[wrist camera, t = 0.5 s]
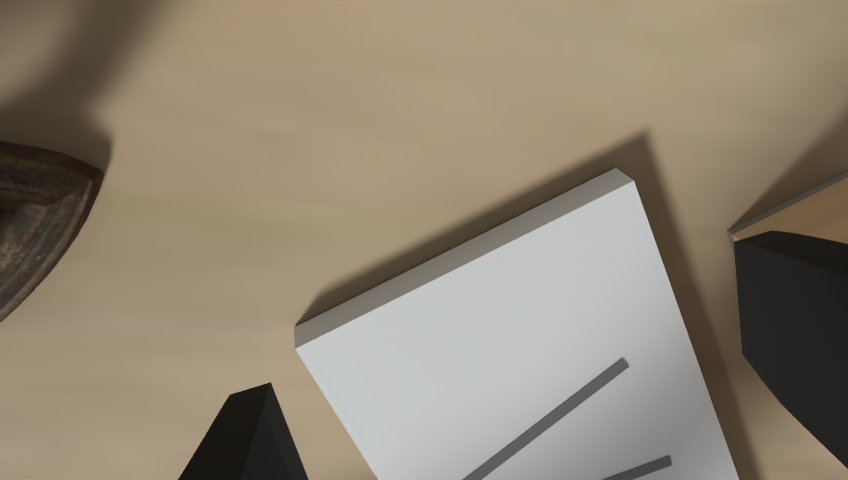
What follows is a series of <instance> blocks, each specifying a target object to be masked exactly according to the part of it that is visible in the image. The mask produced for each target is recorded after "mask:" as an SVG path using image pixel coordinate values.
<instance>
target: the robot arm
mask: <svg viewBox="0 0 848 480" xmlns="http://www.w3.org/2000/svg"><path fill="white" fill-rule="evenodd" d="M734 251H735V264H736V277H737V290H738V303H739V315H740V328H741V341H742V354H743V355H744V357H745V358H746V359H747V361H748V362H749V363H750V365H751V366H752V367H753V369H754V370H755V371H756V373H757V374H758V375H759V377H760V378H761V379H762V381H763V382H764V383H765V384H766V386H767V387H768V388H769V389H770V391H771V392H772V393H773V394H774V396H775V397H776V398H777V399H778V400H779V402H780V403H781V404H782V405H783V406H784V407H785V408H786V409H787V410H788V411H789V412H790V413H791V414H792V415H793V416H794V417H795V418H796V419H797V420H798V421H799V422H800V423H801V424H802V425H803V426H804V427H805V428H806V429H807V430H808V431H809V432H810V433H811V434H812V435H813V436H814V437H815V438H816V439H817V440H818V441H819V442H820V443H821V444H823V445H824V446H825V447H826V448H827V449H828V450H829V451H830V452H831V453H832V454H833V455H834V456H835V457H836V458H837V459H838V460H839V461H840V462H841V463H842V464H843V465H844V466H846V467H847V468H848V244H846V243H842V242H837V241H832V240H828V239H823V238H818V237H813V236H808V235H802V234H797V233H790V232H783V231H774V230H771V231H767V232H764V233H761V234H757V235H754V236H751V237H748V238H744V239H741V240H738V241H734ZM178 480H308V477H307V475H306V472H305V469H304V467H303V464H302V462H301V459H300V457H299V454H298V451H297V449H296V446H295V444H294V441H293V439H292V436H291V433H290V431H289V428H288V426H287V423H286V421H285V418H284V415H283V413H282V410H281V408H280V405H279V402H278V400H277V397H276V395H275V392H274V390H273V387H272V384H271V382H270V383H267V384H264V385H260V386H257V387H254V388H251V389H247V390H244V391H241V392H237V393H234V394H231V395H229V397H228V399H227V400H226V402H225V403H224V405H223V407H222V408H221V410H220V412H219V413H218V415H217V417H216V418H215V420H214V422H213V423H212V425H211V427H210V428H209V430H208V432H207V433H206V435H205V437H204V438H203V440H202V442H201V443H200V445H199V447H198V448H197V450H196V452H195V453H194V455H193V457H192V458H191V460H190V461H189V463H188V465H187V466H186V468H185V469H184V471H183V473H182V474H181V476H180V477H179V479H178Z"/></svg>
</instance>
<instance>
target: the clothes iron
mask: <svg viewBox="0 0 848 480" xmlns="http://www.w3.org/2000/svg"><path fill="white" fill-rule="evenodd" d="M102 179H103V174H102V172H101V170H100V169H97V168H94V167H92V166H90V165H88V164H86V163H84V162H82V161H80V160H77V159H75V158H73V157H70V156H67V155H64V154H61V153H58V152H54V151H49V150H45V149H41V148H36V147H30V146H23V145H18V144H13V143H8V142H3V141H0V322H1V321H3V320H4V319H5V318H6V317H7V316H8V315H9V314H10V313H11V312H13V311H14V310H15V309H16V308H17V307H18V306H19V305H20V304H21V303H22V302H23V301H24V300H25V299H26V298H27V297H28V296H29V295H30V294H31V293H32V292H33V291H34V290H35V288H36V287H37V286H38V285H39V284H40V283H41V282H42V281H43V280H44V279H45V278H46V277H47V275H48V274H49V273H50V272H51V271H52V269H53V268H54V267H55V266H56V264H57V263H58V262H59V260H60V259H61V258H62V256H63V255H64V254H65V252H66V251H67V250H68V248H69V247H70V245H71V244H72V242H73V241H74V240H75V238H76V237H77V235H78V233H79V231H80V229H81V228H82V226H83V225H84V223H85V222H86V219H87V217H88V215H89V213H90V211H91V208H92V206H93V204H94V201H95V199H96V197H97V195H98V192H99V189H100V186H101V182H102Z"/></svg>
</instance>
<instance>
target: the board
mask: <svg viewBox="0 0 848 480" xmlns="http://www.w3.org/2000/svg"><path fill="white" fill-rule="evenodd" d="M294 335H295V350H296V351H297V353H298V354H299V356H300V357H301V359H302V361H303V362H304V364H305V365H306V367H307V368H308V370H309V372H310V373H311V375H312V376H313V378H314V380H315V381H316V383H317V384H318V386H319V387H320V389H321V391H322V392H323V394H324V395H325V397H326V398H327V400H328V402H329V403H330V405H331V406H332V408H333V409H334V411H335V413H336V414H337V416H338V417H339V419H340V420H341V422H342V424H343V425H344V427H345V428H346V430H347V431H348V433H349V435H350V436H351V438H352V439H353V441H354V442H355V444H356V446H357V447H358V449H359V450H360V452H361V453H362V455H363V457H364V458H365V460H366V461H367V463H368V464H369V466H370V468H371V469H372V471H373V472H374V474H375V475H376V477H377V479H378V480H739V478H738V475H737V472H736V469H735V466H734V463H733V461H732V458H731V455H730V452H729V449H728V446H727V444H726V441H725V438H724V435H723V432H722V429H721V427H720V424H719V421H718V418H717V415H716V412H715V410H714V407H713V404H712V401H711V398H710V395H709V392H708V390H707V387H706V384H705V381H704V378H703V375H702V373H701V370H700V367H699V364H698V361H697V358H696V356H695V353H694V350H693V347H692V344H691V341H690V339H689V336H688V333H687V330H686V327H685V324H684V321H683V319H682V316H681V313H680V310H679V307H678V304H677V302H676V299H675V296H674V293H673V290H672V287H671V285H670V282H669V279H668V276H667V273H666V270H665V268H664V265H663V262H662V259H661V256H660V253H659V250H658V248H657V245H656V242H655V239H654V236H653V233H652V231H651V228H650V225H649V222H648V219H647V216H646V214H645V211H644V208H643V205H642V202H641V199H640V197H639V194H638V191H637V188H636V185H635V182H634V180H632V179H631V178H630V177H628V176H627V175H625V174H624V173H623V172H621V171H620V170H618V169H617V168H614V169H612V170H610V171H608V172H606V173H604V174H602V175H600V176H598V177H596V178H594V179H591V180H589V181H587V182H585V183H583V184H581V185H579V186H577V187H575V188H573V189H571V190H569V191H567V192H565V193H563V194H561V195H559V196H557V197H555V198H553V199H551V200H549V201H547V202H545V203H543V204H541V205H539V206H537V207H535V208H533V209H531V210H529V211H527V212H525V213H523V214H521V215H519V216H517V217H515V218H513V219H511V220H509V221H507V222H505V223H503V224H501V225H499V226H497V227H495V228H493V229H491V230H489V231H487V232H485V233H483V234H481V235H479V236H477V237H475V238H473V239H471V240H469V241H467V242H465V243H463V244H461V245H459V246H457V247H455V248H453V249H451V250H449V251H447V252H445V253H443V254H441V255H439V256H437V257H435V258H433V259H431V260H429V261H427V262H425V263H423V264H421V265H419V266H417V267H414V268H412V269H410V270H408V271H406V272H404V273H402V274H400V275H398V276H396V277H394V278H392V279H390V280H388V281H386V282H384V283H382V284H380V285H378V286H376V287H374V288H372V289H370V290H368V291H366V292H364V293H362V294H360V295H358V296H356V297H354V298H352V299H350V300H348V301H346V302H344V303H342V304H340V305H338V306H336V307H334V308H332V309H330V310H328V311H326V312H324V313H322V314H320V315H318V316H316V317H314V318H312V319H310V320H308V321H306V322H304V323H302V324H300V325H298V326H296V327H294Z"/></svg>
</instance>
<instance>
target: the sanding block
mask: <svg viewBox="0 0 848 480" xmlns="http://www.w3.org/2000/svg"><path fill="white" fill-rule="evenodd" d="M771 230H774V231H783V232H790V233H797V234H802V235H808V236H813V237H818V238H823V239H828V240H832V241H837V242H842V243H846V244H848V171H847V172H845V173H843V174H841V175H839V176H837V177H835V178H832V179H830V180H828V181H826V182H824V183H822V184H820V185H818V186H816V187H814V188H812V189H810V190H808V191H806V192H804V193H802V194H800V195H798V196H796V197H794V198H792V199H790V200H788V201H786V202H784V203H782V204H780V205H778V206H776V207H774V208H772V209H770V210H768V211H766V212H764V213H762V214H760V215H758V216H756V217H754V218H752V219H750V220H748V221H746V222H744V223H742V224H740V225H738V226H736V227H734V228H732V229H729V230H727V232H728V236H729V239H730V242H731V245H732V249H733V252H734V255H735V251H734V241H738V240H741V239H744V238H748V237H751V236H754V235H757V234H761V233H764V232H767V231H771ZM778 401H779V400H778Z"/></svg>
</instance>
